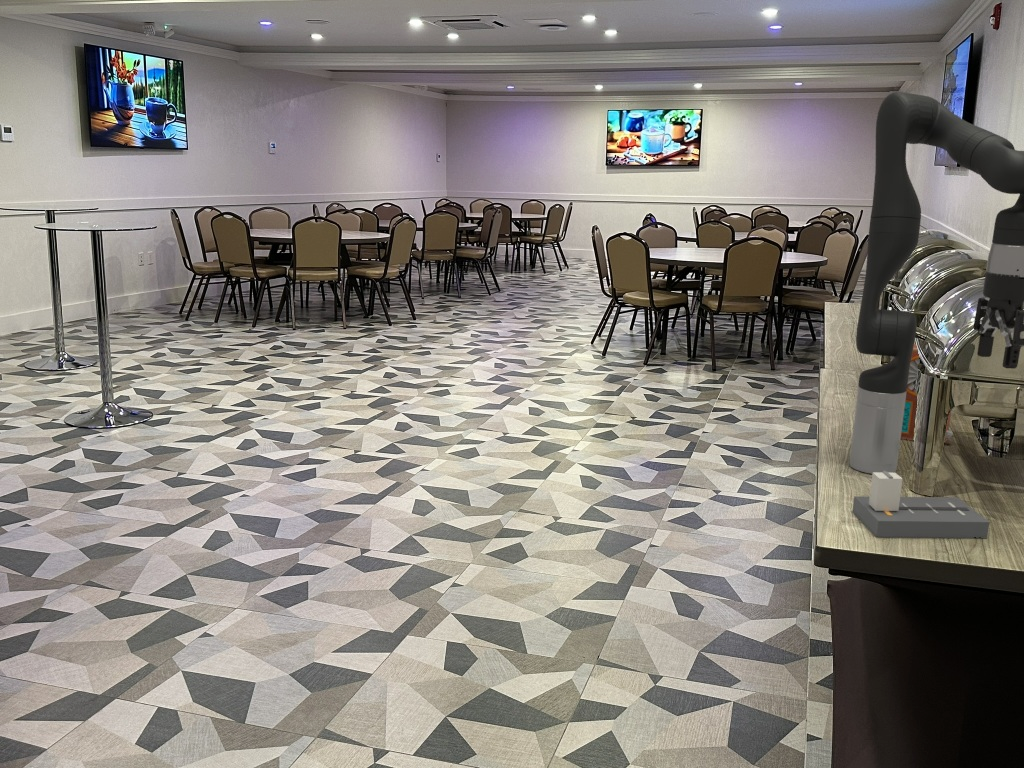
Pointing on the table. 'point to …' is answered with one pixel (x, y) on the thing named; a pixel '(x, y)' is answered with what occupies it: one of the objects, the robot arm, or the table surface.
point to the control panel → (914, 401)
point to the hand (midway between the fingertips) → (996, 362)
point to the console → (923, 518)
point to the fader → (885, 491)
